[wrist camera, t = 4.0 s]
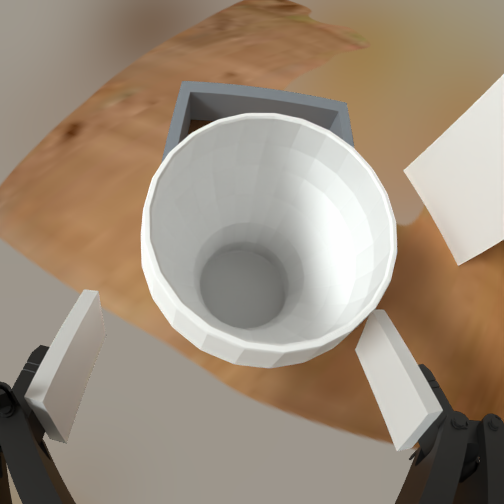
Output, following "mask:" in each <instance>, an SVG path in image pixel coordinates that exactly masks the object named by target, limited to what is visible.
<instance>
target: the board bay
mask: <svg viewBox="0 0 504 504" xmlns="http://www.w3.org/2000/svg"><path fill="white" fill-rule="evenodd" d="M244 113H277V114H282V115H287V116H292V117H296V118H301V119H304V120H307V121H309V122H311V123H314V124H316V125H318V126H320V127H323V128H325V129H327V130H329V131H331V132H332V133H334V134H335V135H337V136H338V137H339V138H341V139H342V140H344V141H345V142H346V143H348V144H349V145H351V146H352V147H353V148H354V143H353V136H352V131H351V125H350V119H349V114H348V108H347V103H345V102H340V101H336V100H331V99H326V98H321V97H316V96H311V95H305V94H299V93H294V92H288V91H281V90H274V89H267V88H260V87H252V86H243V85H233V84H222V83H209V82H192V81H182V84H181V88H180V91H179V95H178V98H177V102H176V106H175V109H174V113H173V117H172V121H171V125H170V129H169V133H168V137H167V141H166V145H165V150H164V154H163V158H162V162H163V161H164V159H165V158H166V156H167V155H168V153H169V152H170V151H171V150H173V149H174V148H175V147H176V146H177V145H178V144H179V143H180V142H182V141H183V140H184V139H185V138H186V137H187V136H188V131H189V126H190V121H191V119H192V120H207V121H216V120H218V119H223V118H227V117H231V116H235V115H240V114H244ZM161 164H162V163H161Z"/></svg>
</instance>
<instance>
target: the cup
mask: <svg viewBox="0 0 504 504" xmlns="http://www.w3.org/2000/svg"><path fill="white" fill-rule="evenodd" d="M141 255H142V268H143V271H144V274H145V277H146V280H147V283H148V286H149V289H150V292H151V295H152V298H153V300H154V301H155V303H156V304H157V305H158V307H159V308H160V310H161V311H162V313H163V314H164V316H165V317H166V319H167V320H168V321H169V323H170V324H171V326H172V327H173V328H174V329H176V330H177V331H178V332H179V333H180V334H182V335H183V336H184V337H185V338H186V339H188V340H189V341H190V342H191V343H193V344H194V345H195V346H196V347H198V348H199V349H200V350H202V351H204V352H207V353H209V354H211V355H214V356H216V357H218V358H221V359H223V360H225V361H228V362H230V363H233V364H237V365H245V366H254V367H262V368H275V367H281V366H287V365H293V364H299V363H304V362H306V361H308V360H310V359H312V358H314V357H317V356H319V355H321V354H323V353H325V352H327V351H329V350H331V349H333V348H334V347H335V346H336V345H338V344H339V343H340V342H341V341H342V340H343V339H344V338H345V337H347V336H348V335H349V334H350V333H351V332H352V331H353V330H354V329H355V328H356V327H357V326H358V325H359V324H361V323H362V322H363V321H364V320H365V319H366V318H367V317H368V316H369V315H370V314H371V313H372V312H373V311H374V310H375V309H376V307H377V305H378V304H379V302H380V300H381V298H382V296H383V295H384V293H385V291H386V289H387V287H388V285H389V284H390V282H391V278H392V273H393V269H394V265H395V260H396V255H397V232H396V220H395V217H394V213H393V211H392V207H391V204H390V200H389V197H388V194H387V192H386V190H385V189H384V187H383V185H382V184H381V182H380V180H379V178H378V177H377V175H376V173H375V171H374V170H373V168H372V167H371V166H370V165H369V164H368V163H367V162H366V161H365V160H364V158H363V157H362V156H361V155H360V154H359V153H358V152H357V151H356V150H355V149H354V148H353V147H352V146H351V145H349V144H348V143H346V142H345V141H344V140H342V139H341V138H339V137H338V136H337V135H335V134H334V133H332V132H331V131H329V130H327V129H325V128H323V127H320V126H318V125H316V124H314V123H311V122H309V121H307V120H304V119H301V118H296V117H292V116H287V115H282V114H277V113H244V114H240V115H235V116H231V117H227V118H223V119H218V120H216V121H214V122H212V123H210V124H208V125H206V126H204V127H202V128H200V129H198V130H196V131H194V132H192V133H191V134H190V135H189V136H187V137H186V138H185V139H184V140H183V141H182V142H180V143H179V144H178V145H177V146H176V147H175V148H174V149H173V150H171V151H170V152H169V153H168V155H167V156H166V158H165V159H164V161H163V162H162V164H161V166H160V167H159V169H158V170H157V172H156V173H155V175H154V176H153V178H152V181H151V184H150V188H149V191H148V194H147V198H146V201H145V205H144V208H143V217H142V228H141Z"/></svg>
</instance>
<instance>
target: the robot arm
mask: <svg viewBox="0 0 504 504" xmlns="http://www.w3.org/2000/svg"><path fill="white" fill-rule="evenodd" d="M105 338H106V331H105V327H104V321H103V315H102V310H101V304H100V298H99V291H93V290H85V289H84V291H83V292H82V294H81V295H80V297H79V298H78V300H77V302H76V303H75V305H74V307H73V308H72V310H71V311H70V313H69V315H68V316H67V318H66V320H65V321H64V323H63V325H62V327H61V328H60V330H59V332H58V334H57V335H56V337H55V339H54V341H53V342H52V344H51V346H50V347H46V346H43V345H40V346H39V347H38V348H37V349H35V350H34V351H33V352H32V354H31V355H30V357H29V359H28V360H27V363H26V364H25V366H24V368H23V370H22V371H21V373H20V375H19V377H18V378H17V380H16V382H15V384H14V386H13V388H12V389H11V387H10V386H9V385H8V384H6V383H4V382H0V504H12V500H11V494H10V488H9V482H8V474H7V466H6V463H7V465H8V469H9V471H10V474H11V477H12V479H13V482H14V485H15V487H16V489H17V492H18V494H19V497H20V499H21V501H22V503H23V504H76V503H75V502H74V500H73V498H72V497H71V494H70V493H69V491H68V489H67V487H66V485H65V483H64V482H63V480H62V478H61V476H60V474H59V472H58V470H57V468H56V466H55V464H54V462H53V459H52V457H51V455H50V453H49V451H48V448H47V446H46V444H45V442H44V440H43V436H44V433H45V432H46V433H47V435H48V436H49V438H50V439H52V440H56V441H59V442H63V443H67V441H68V438H69V434H70V431H71V428H72V425H73V422H74V419H75V416H76V413H77V411H78V408H79V405H80V402H81V399H82V396H83V393H84V391H85V388H86V386H87V383H88V380H89V378H90V375H91V372H92V370H93V367H94V365H95V362H96V360H97V357H98V355H99V352H100V350H101V347H102V345H103V343H104V340H105ZM355 351H356V353H357V355H358V358H359V360H360V362H361V365H362V367H363V369H364V372H365V374H366V376H367V379H368V381H369V383H370V386H371V388H372V391H373V393H374V395H375V398H376V400H377V403H378V405H379V408H380V410H381V413H382V415H383V418H384V420H385V423H386V425H387V428H388V430H389V433H390V435H391V438H392V440H393V443H394V446H395V448H396V451H401V450H406V449H410V448H412V447H413V446H414V444H415V443H416V442H417V441H418V442H419V444H420V447H419V448H418V449H417V450H416V451H415V452H414V453H413V454H412V456H411V457H410V458H409V460H411V459H412V458H413V457H414V456H415V457H414V460H413V463H412V465H411V468H410V470H409V472H408V475H407V477H406V480H405V482H404V484H403V487H402V489H401V492H400V494H399V496H398V498H397V500H396V502H395V504H504V423H503V421H502V420H501V418H500V417H498V416H497V415H495V414H487V415H486V416H485V417H484V418H483V419H482V420H481V421H473V420H469V419H468V418H467V417H466V416H465V415H464V414H462V413H461V412H457V411H453V409H452V407H451V405H450V404H449V402H448V400H447V398H446V396H445V395H444V393H443V391H442V389H441V388H439V384H438V383H437V381H436V379H435V377H434V376H433V374H432V372H431V371H430V370H429V369H428V368H427V367H426V366H425V365H423V364H420V365H418V364H417V363H416V361H415V359H414V358H413V356H412V354H411V353H410V351H409V349H408V348H407V346H406V344H405V343H404V341H403V339H402V338H401V336H400V334H399V333H398V331H397V329H396V328H395V326H394V325H393V323H392V321H391V320H390V318H389V317H388V315H387V313H386V312H385V310H374V311H373V312H372V313H371V314H370V315H369V317H368V319H367V322H366V325H365V327H364V330H363V332H362V335H361V337H360V340H359V342H358V344H357V347H356V349H355ZM479 460H480V461H479Z"/></svg>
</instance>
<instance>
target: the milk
mask: <svg viewBox="0 0 504 504" xmlns="http://www.w3.org/2000/svg"><path fill="white" fill-rule="evenodd" d="M404 172H405V174H406V175H407V177H408V178H409V180H410V182H411V183H412V185H413V186H414V188H415V189H416V191H417V193H418V194H419V196H420V197H421V199H422V201H423V203H424V204H425V206H426V207H427V209H428V211H429V213H430V214H431V216H432V218H433V220H434V221H435V223H436V225H437V227H438V228H439V230H440V232H441V234H442V236H443V238H444V239H445V241H446V243H447V245H448V247H449V249H450V251H451V253H452V255H453V257H454V259H455V261H456V263H457V265H458V266H459V265H461V264H463V263H464V262H466V261H468V260H470V259H472V258H473V257H475V256H477V255H479V254H480V253H482V252H484V251H485V250H487V249H489V248H491V247H492V246H494V245H496V244H497V243H499V242H501V241H502V240H504V74H503V75H502V76H501V77H500V78H499V79H498V80H497V81H496V82H495V83H494V84H493V85H492V86H491V87H490V88H489V89H488V90H487V91H486V92H485V93H484V94H483V95H482V96H481V98H479V99H478V100H477V101H476V102H475V103H474V104H473V105H472V106H471V107H470V108H469V109H468V110H467V111H466V112H465V113H464V114H463V115H462V116H461V117H460V118H459V119H458V120H457V121H456V122H455V123H454V124H453V125H451V127H450V128H448V129H447V130H446V131H445V132H444V133H443V134H442V135H441V136H440V137H439V138H438V139H437V140H436V141H435V142H434V143H433V144H431V145H430V146H429V147H428V148H427V149H426V150H425V151H424V152H423V153H422V154H421V155H420V156H419V157H418V158H416V159H415V160H414V162H412V163H411V164H410V165H409V166H408V167H407V168H406V169H404Z"/></svg>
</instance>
